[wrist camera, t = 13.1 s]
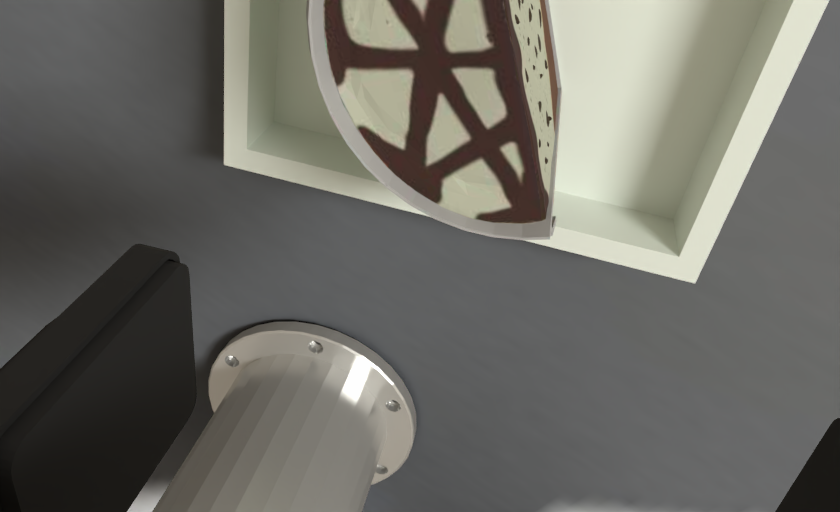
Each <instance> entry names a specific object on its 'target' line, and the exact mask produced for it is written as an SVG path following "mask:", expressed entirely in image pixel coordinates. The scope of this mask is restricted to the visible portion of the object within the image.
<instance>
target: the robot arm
mask: <svg viewBox="0 0 840 512" xmlns="http://www.w3.org/2000/svg"><path fill="white" fill-rule="evenodd" d="M208 394H209V398H210V402H211V406H212V410H213V412H214V414H213V416H212V417H211V419H210V421H209V422H208V424H207V425H206V427H205V429H204V430H203V432H202V433H201V435H200V437H199V438H198V440H197V441H196V443H195V445H194V446H193V448H192V449H191V451H190V452H189V454H188V456H187V457H186V459H185V460H184V462H183V464H182V465H181V467H180V468H179V470H178V472H177V473H176V475H175V476H174V478H173V480H172V481H171V483H170V484H169V486H168V487H167V489H166V491H165V492H164V494H163V495H162V497H161V499H160V500H159V502H158V503H157V505H156V507H155V508H154V510H153V511H152V512H362V510H363V507H364V504H365V501H366V498H367V495H368V492H369V489H370V486H371V485H372V484H375V483H377V482H380V481H382V480H384V479H386V478H388V477H389V476H391V475H392V474H393V473H394V472H396V471H397V470H398V469H399V468H400V467H401V466H402V464H403V463H404V462H405V461H406V459H407V458H408V455H409V453H410V450H411V448H412V445H413V441H414V437H415V433H416V428H417V423H416V411H415V407H414V404H413V400H412V397H411V395H410V393H409V392H408V390H407V388H406V386H405V384H404V382H403V381H402V379H401V378H400V377H399V376H398V375H397V373H396V372H395V371H394V370H393V368H392V367H391V366H390V365H389V364H388V363H387V362H386V361H384V360H383V359H382V358H381V357H380V356H379V355H378V354H377V353H376V352H374V351H372V350H371V349H369V348H368V347H366V346H365V345H363V344H362V343H360V342H359V341H357V340H355V339H353V338H351V337H349V336H347V335H345V334H342V333H340V332H338V331H335V330H332V329H329V328H326V327H322V326H319V325H315V324H308V323H302V322H272V323H266V324H261V325H257V326H254V327H252V328H250V329H247V330H245V331H242V332H241V333H240V334H238V335H237V336H235V337H234V338H233V339H231V340H230V341H229V342H228V344H227V345H226V346H225V347H224V348H223V350H222V351H221V352H220V354H219V355H218V357H217V359H216V360H215V362H214V364H213V365H212V368H211V372H210V375H209V379H208ZM195 401H196V377H195V361H194V344H193V328H192V311H191V295H190V278H189V269H188V267H187V265H185V264H181V263H180V261H179V257H178V255H177V254H176V253H175V252H172V251H168V250H164V249H159V248H155V247H151V246H147V245H142V244H136V245H134V246H133V247H131V248H130V249H129V250H128V251H127V252H126V253H125V254H124V255H123V256H121V257H120V258H119V259H118V260H117V261H116V262H115V263H114V264H113V265H112V266H111V267H110V268H109V269H108V270H107V271H106V272H105V273H104V274H103V275H102V276H100V277H99V278H98V279H97V280H96V281H95V282H94V283H93V284H92V285H91V286H90V287H89V288H88V289H87V290H86V291H85V292H84V293H83V294H82V295H81V296H79V297H78V298H77V299H76V300H75V301H74V302H73V303H72V304H71V305H70V306H69V307H68V308H67V309H66V310H65V311H64V312H63V313H62V314H61V315H60V316H58V317H57V318H56V319H54V320H53V321H52V322H50V323H49V324H48V325H46V326H45V327H44V328H43V329H42V330H41V331H40V332H39V333H38V334H37V335H36V336H35V337H34V338H33V339H31V340H30V341H29V342H28V343H27V344H26V345H25V346H24V347H23V348H22V349H21V350H20V351H19V352H18V353H17V354H16V355H15V356H14V357H12V358H11V359H10V360H9V361H8V362H7V363H6V364H5V365H4V366H3V367H2V368H1V369H0V512H127V510H128V509H129V507H130V506H131V504H132V503H133V501H134V500H135V498H136V497H137V495H138V494H139V492H140V491H141V489H142V488H143V486H144V485H145V483H146V482H147V480H148V479H149V477H150V476H151V474H152V473H153V471H154V470H155V468H156V467H157V465H158V464H159V462H160V461H161V459H162V458H163V456H164V455H165V453H166V452H167V450H168V449H169V447H170V446H171V444H172V443H173V441H174V440H175V438H176V437H177V435H178V434H179V432H180V431H181V429H182V428H183V426H184V425H185V423H186V422H187V420H188V419H189V417H190V415H191V413H192V411H193V408H194V405H195ZM775 512H840V418H837V419H836V420H834V421H833V422H832V424H831V425H830V427H829V428H828V430H827V431H826V433H825V434H824V436H823V438H822V439H821V441H820V442H819V444H818V445H817V447H816V449H815V450H814V452H813V453H812V455H811V456H810V458H809V460H808V461H807V463H806V464H805V466H804V467H803V469H802V471H801V472H800V474H799V475H798V477H797V478H796V480H795V482H794V483H793V485H792V486H791V488H790V489H789V491H788V493H787V494H786V496H785V497H784V499H783V500H782V502H781V504H780V505H779V507H778V508H777V510H776V511H775Z"/></svg>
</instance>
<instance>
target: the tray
mask: <svg viewBox="0 0 840 512" xmlns="http://www.w3.org/2000/svg"><path fill="white" fill-rule="evenodd" d="M828 2H829V0H549V6H550V13H551V19H552V26H553V33H554V39H555V46H556V53H557V60H558V66H559V73H560V80H561V87H562V98H561V111H560V124H559V137H558V150H557V163H556V176H555V189H554V202H553V215H552V216H556V225H555V229H554V232H553V236H550V239H546V240H524V241H528V242H532V243H536V244H540V245H544V246H548V247H552V248H556V249H560V250H564V251H568V252H572V253H576V254H580V255H584V256H588V257H592V258H596V259H600V260H604V261H608V262H612V263H616V264H620V265H624V266H628V267H632V268H636V269H640V270H643V271H647V272H651V273H655V274H659V275H663V276H667V277H671V278H675V279H679V280H683V281H687V282H691V283H696V280H697V278H698V276H699V274H700V272H701V270H702V268H703V266H704V264H705V261H706V259H707V257H708V255H709V253H710V251H711V249H712V247H713V245H714V242H715V240H716V238H717V236H718V234H719V232H720V230H721V228H722V226H723V223H724V221H725V219H726V217H727V215H728V213H729V211H730V209H731V207H732V204H733V202H734V200H735V198H736V196H737V194H738V192H739V190H740V188H741V185H742V183H743V181H744V179H745V177H746V175H747V173H748V171H749V169H750V166H751V164H752V162H753V160H754V158H755V156H756V154H757V152H758V150H759V147H760V145H761V143H762V141H763V139H764V137H765V135H766V133H767V131H768V128H769V126H770V124H771V122H772V120H773V118H774V116H775V114H776V112H777V109H778V107H779V105H780V103H781V101H782V99H783V97H784V95H785V93H786V90H787V88H788V86H789V84H790V82H791V80H792V78H793V76H794V74H795V71H796V69H797V67H798V65H799V63H800V61H801V59H802V57H803V55H804V52H805V50H806V48H807V46H808V44H809V42H810V40H811V38H812V36H813V33H814V31H815V29H816V27H817V25H818V23H819V21H820V19H821V17H822V14H823V12H824V10H825V8H826V6H827V4H828ZM306 6H307V0H224V165H227V166H231V167H235V168H239V169H242V170H246V171H250V172H254V173H258V174H262V175H266V176H270V177H274V178H278V179H282V180H286V181H290V182H294V183H298V184H302V185H306V186H310V187H314V188H318V189H322V190H326V191H330V192H334V193H338V194H342V195H346V196H350V197H354V198H358V199H362V200H366V201H370V202H373V203H377V204H381V205H385V206H389V207H393V208H397V209H401V210H405V211H409V212H413V213H417V214H421V215H425V216H428V215H427V214H425V213H423V212H421V211H419V210H417V209H416V208H414V207H412V206H410V205H409V204H407V203H406V202H405V201H403V200H402V199H401V198H399V197H398V196H397V195H395V194H394V193H393V192H391V191H390V190H389V189H387V188H386V187H385V186H384V185H383V184H382V183H381V182H380V181H379V180H378V179H377V178H376V177H375V176H374V175H373V174H372V173H370V172H369V171H368V170H367V169H366V168H365V167H364V165H363V164H362V163H361V161H360V160H359V159H358V158H357V156H356V155H355V154H354V153H353V151H352V150H351V149H350V147H349V146H348V145H347V144H346V142H345V140H344V139H343V137H342V135H341V133H340V132H339V130H338V128H337V126H336V125H335V123H334V121H333V119H332V118H331V116H330V113H329V111H328V108H327V106H326V103H325V101H324V98H323V96H322V93H321V91H320V88H319V85H318V82H317V79H316V75H315V70H314V66H313V62H312V58H311V54H310V50H309V41H308V30H307V19H306ZM429 217H430V216H429Z"/></svg>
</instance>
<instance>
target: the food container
mask: <svg viewBox="0 0 840 512" xmlns="http://www.w3.org/2000/svg"><path fill="white" fill-rule="evenodd" d="M306 19H307V30H308V41H309V50H310V54H311V58H312V62H313V66H314V70H315V75H316V79H317V82H318V85H319V88H320V91H321V93H322V96H323V98H324V101H325V103H326V106H327V108H328V111H329V113H330V116H331V118H332V119H333V121H334V123H335V125H336V126H337V128H338V130H339V132H340V133H341V135H342V137H343V139H344V140H345V142H346V144H347V145H348V146H349V147H350V149H351V150H352V151H353V153H354V154H355V155H356V156H357V158H358V159H359V160H360V161H361V163H362V164H363V165H364V167H365V168H366V169H367V170H368V171H369V172H370V173H372V174H373V175H374V176H375V177H376V178H377V179H378V180H379V181H380V182H381V183H382V184H383V185H384V186H385V187H386V188H387V189H389V190H390V191H391V192H393V193H394V194H395V195H397V196H398V197H399V198H401V199H402V200H403V201H405V202H406V203H407V204H409V205H410V206H412V207H414V208H416V209H417V210H419V211H421V212H423V213H425V214H427V215H428V216H430V217H432V218H434V219H436V220H438V221H441V222H443V223H446V224H449V225H451V226H454V227H456V228H459V229H462V230H465V231H469V232H473V233H477V234H481V235H486V236H490V237H496V238H506V239H516V240H546V239H550V236H553V232H554V229H555V225H556V216H552V215H553V202H554V189H555V176H556V163H557V150H558V137H559V124H560V111H561V98H562V87H561V80H560V73H559V66H558V60H557V53H556V46H555V39H554V33H553V26H552V19H551V13H550V6H549V0H307V6H306Z"/></svg>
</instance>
